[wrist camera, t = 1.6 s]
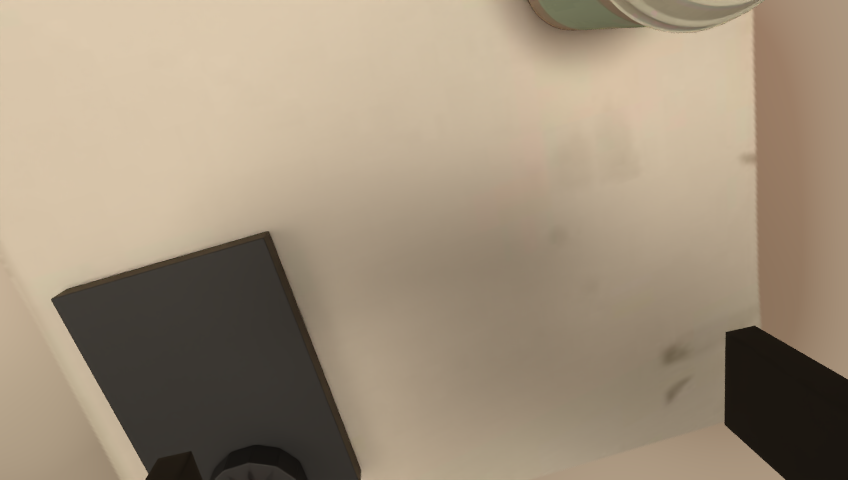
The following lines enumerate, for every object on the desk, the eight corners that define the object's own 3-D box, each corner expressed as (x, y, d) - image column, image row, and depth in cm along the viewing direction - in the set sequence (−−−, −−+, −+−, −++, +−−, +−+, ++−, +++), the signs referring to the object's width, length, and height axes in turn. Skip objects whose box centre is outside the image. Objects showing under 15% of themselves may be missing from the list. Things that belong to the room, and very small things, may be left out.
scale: (362, 475, 33) (362, 510, 30) (195, 527, 33) (178, 567, 30) (268, 230, 28) (257, 245, 25) (65, 289, 27) (30, 311, 25)
